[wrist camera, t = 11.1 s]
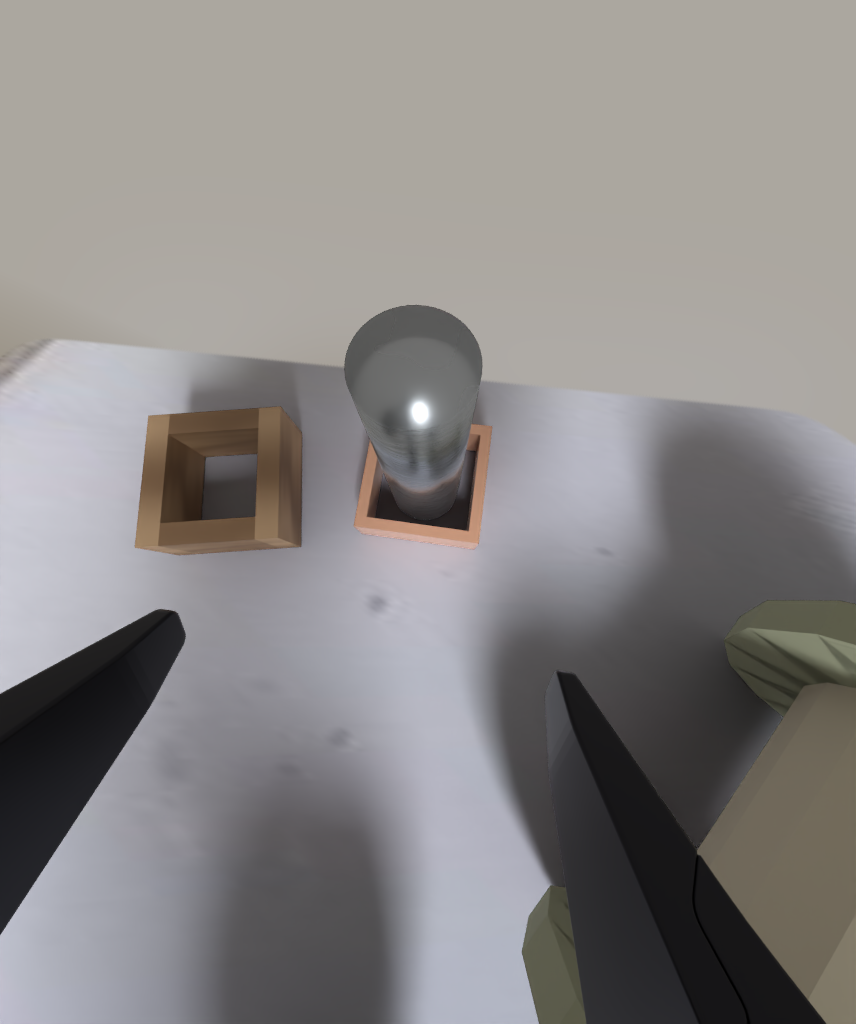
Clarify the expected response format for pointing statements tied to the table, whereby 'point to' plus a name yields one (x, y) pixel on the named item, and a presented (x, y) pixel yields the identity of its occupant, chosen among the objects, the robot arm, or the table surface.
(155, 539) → the wooden square frame
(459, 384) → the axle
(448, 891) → the table surface
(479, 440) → the socket block
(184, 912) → the table surface
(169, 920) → the table surface
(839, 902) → the spool
